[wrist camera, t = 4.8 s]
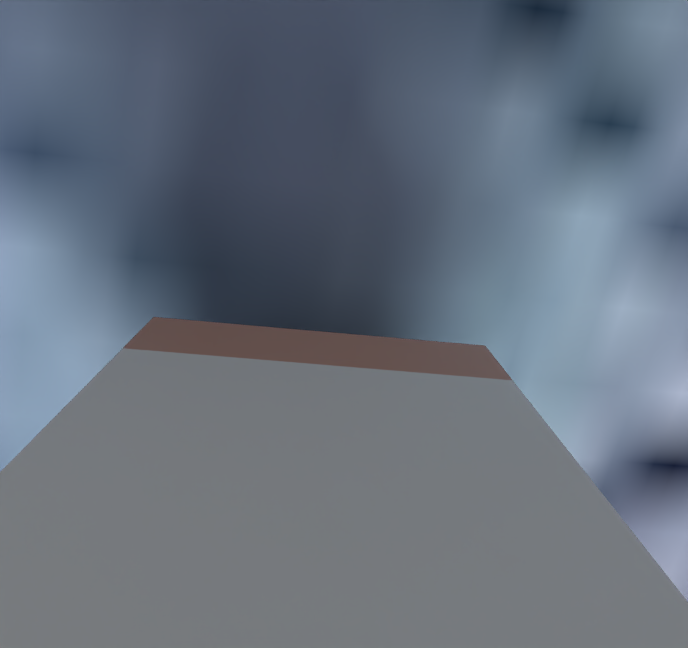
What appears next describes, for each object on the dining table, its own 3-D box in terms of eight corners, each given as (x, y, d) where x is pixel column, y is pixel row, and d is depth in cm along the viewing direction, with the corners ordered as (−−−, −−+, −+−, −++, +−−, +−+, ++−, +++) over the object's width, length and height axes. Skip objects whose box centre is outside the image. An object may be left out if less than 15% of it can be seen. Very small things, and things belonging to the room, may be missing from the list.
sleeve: (485, 345, 10) (829, 780, 3) (433, 598, 12) (578, 1201, 5) (153, 317, 9) (-269, 744, 3) (156, 583, 11) (-86, 1215, 5)
